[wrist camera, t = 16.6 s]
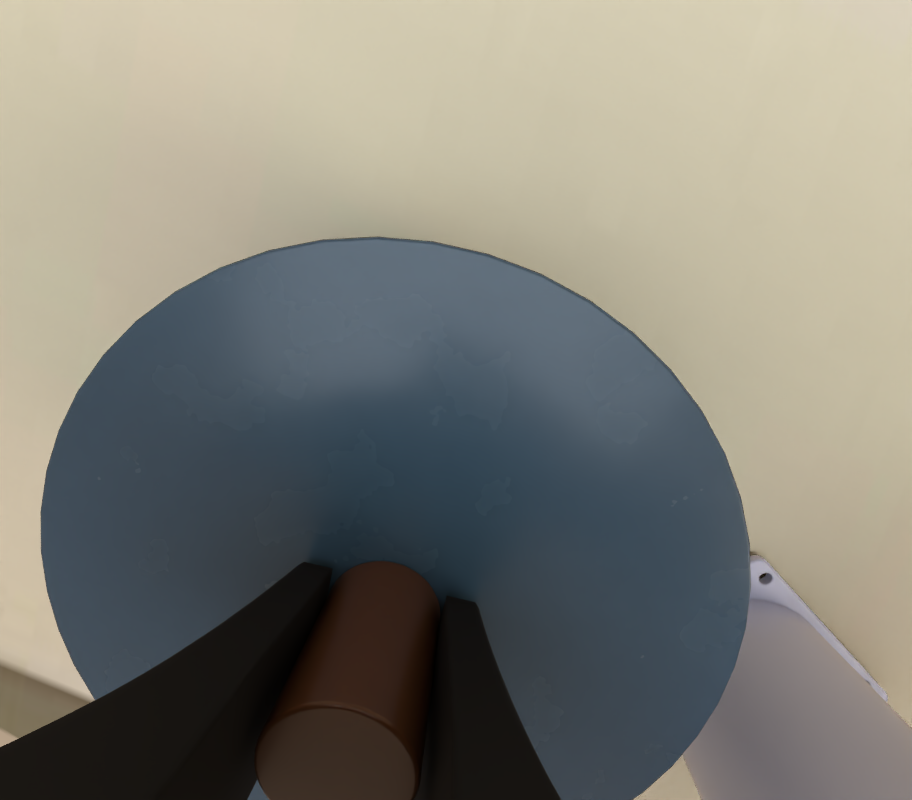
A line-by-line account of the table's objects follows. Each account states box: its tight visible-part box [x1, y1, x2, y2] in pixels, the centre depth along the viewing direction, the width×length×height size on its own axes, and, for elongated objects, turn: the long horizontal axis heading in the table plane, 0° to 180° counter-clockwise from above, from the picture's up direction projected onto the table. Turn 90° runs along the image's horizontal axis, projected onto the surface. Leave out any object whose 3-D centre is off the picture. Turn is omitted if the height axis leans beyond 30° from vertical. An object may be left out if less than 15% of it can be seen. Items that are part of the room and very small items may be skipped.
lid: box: [41, 237, 751, 800], centre depth 9 cm, size 15×15×4 cm
